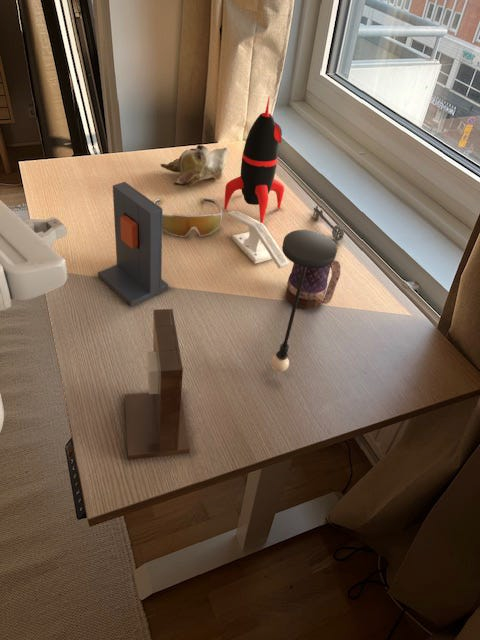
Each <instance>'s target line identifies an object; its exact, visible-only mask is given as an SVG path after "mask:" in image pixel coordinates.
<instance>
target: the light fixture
mask: <svg viewBox="0 0 480 640" xmlns="http://www.w3.org/2000/svg"><path fill="white" fill-rule="evenodd" d="M281 249H282V250H281V251H282V253H283V255H284V256H285V258H286V259H287V260H289V261H290V262H292V263H293V264H294V263H295V264H297V265H300V266H303V268H302V272H301V276H300V280H299V284H298V288H297V292H296V296H295V300H294V304H292V308H291V313H290V316H289V320H288V324H287V329H286V331H285V336H284V340H283V342H282V343H281V344H280V345H279V350H278V351H277V352H276V353H275V355H274V356H273V357H272V358H271V367H272V369H273V370H274V371H275V372H279V373H282V372H285V371H286V370H288V368H289V366H290V360H289V354H288V352H289V347H290V346H289V344H288V343H289V338H290V334H291V330H292V326H293V322H294V318H295V315H296V311H297V308H298V307H297V303H298V299H299V296H300V292H301V288H302V284H303V280H304V276H305V272H306V268H307V267H308V268H322V267H326V266H328V265H330V264H331V263H333V261H334V260H336V257H337V253H338V248H337V245H336V243H335V241H334V240H332V239H331V238H330V237H329V236H327V235H325V234H323V233H321V232H318V231H315V230H311V229H310V230H309V229H297V230H293V231H291V232H288V233H287V234H286V235H285V236H284V237H283V241H282V246H281Z"/></svg>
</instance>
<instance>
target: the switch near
mask: <svg viewBox="0 0 480 640" xmlns="http://www.w3.org/2000/svg"><path fill="white" fill-rule="evenodd" d="M146 369H147V370H146V371H147V374H146V376H147V386H148V393H149V394H158V365H157V356H156V351H153V350H152V351H147V352H146Z"/></svg>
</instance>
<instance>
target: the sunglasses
mask: <svg viewBox="0 0 480 640" xmlns="http://www.w3.org/2000/svg"><path fill="white" fill-rule="evenodd" d="M202 201H203V202H207V203H211V204H214V205H215V206H216V208H218V210H219V212H217V213H205V214H174V213H173V214H165V213H162V232H165V233H166V234H168V235H172V236H175V237H179V238H186V237H187V236H188V235H189V234H190V232H191V231H192V230H195V231H196V233H197V236H199V237H205V236H208V235H212V234H213V233H215V232H216V231H218V229H220V226H221V224H222V219H223V209H222V207H221V205H220V204H219V203H218V202H217V201H216V200H214V199H211V198H202ZM153 202H154V203H155V204H158V203H161V199H160V198H159V199H158V198H157V199H155V200H154V201H153Z"/></svg>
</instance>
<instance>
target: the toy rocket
mask: <svg viewBox="0 0 480 640" xmlns="http://www.w3.org/2000/svg"><path fill="white" fill-rule="evenodd" d="M270 97H271V96H270V94H269V95H268V98H267V103H266V108H265V111H264V112H262V113H260V114H259V115H258V116H257V118H256V119H255V120H254V122H253V123H252V125H251V127H250V129H249V132H248V133H247V137H246V140H245V142H244V146H243V151H242V157H241V165H240V176H238V177H235V178H233V179H231V180H229V181H228V182H227V183H226V185H225V188H224V189H225V190H224V205H223V210H227V208H228V207H229V206H228V205H229V202H230V200H231V198H232V195H233V194H234V193H235V192H236V191H238V190H241V194H242V195H243V199H244V201H245V203H246V204H248V205H252V206H258V211H259V222H260V223H262V224H263V223H264V220H265V215H266V211H267V208H268V203H269V194H270V191H271V192H272V191H273V192H274V193H275V195H276V202H277V209H278V210H280V209H281V206H282V201H283V197H284V193H285V185H284V184H283V183H282V182H280V181H278V180H277V179H275V176H276V170H277V165H278V158H279V144H281V143H282V140H283V139H282V138H283V137H282V135H283V131H282V128H281V126H280V124H278V123H277V121H275V119H274V117H273V114H271V113H269V107H270Z"/></svg>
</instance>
